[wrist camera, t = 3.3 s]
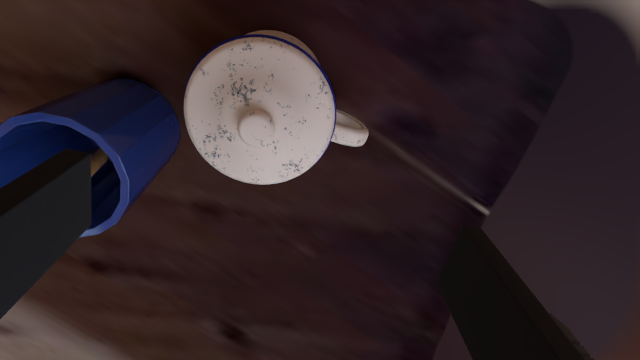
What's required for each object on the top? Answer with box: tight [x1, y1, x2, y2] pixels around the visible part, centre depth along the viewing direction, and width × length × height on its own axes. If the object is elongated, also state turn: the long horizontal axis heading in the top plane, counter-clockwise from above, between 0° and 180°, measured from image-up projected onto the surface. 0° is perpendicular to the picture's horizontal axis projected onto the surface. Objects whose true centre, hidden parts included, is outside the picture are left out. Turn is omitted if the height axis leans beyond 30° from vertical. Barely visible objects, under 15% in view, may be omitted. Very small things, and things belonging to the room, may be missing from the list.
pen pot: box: [0, 78, 180, 237], centre depth 26 cm, size 8×8×10 cm
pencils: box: [85, 146, 109, 177], centre depth 25 cm, size 2×3×12 cm
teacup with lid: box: [183, 30, 368, 184], centre depth 25 cm, size 12×9×12 cm
